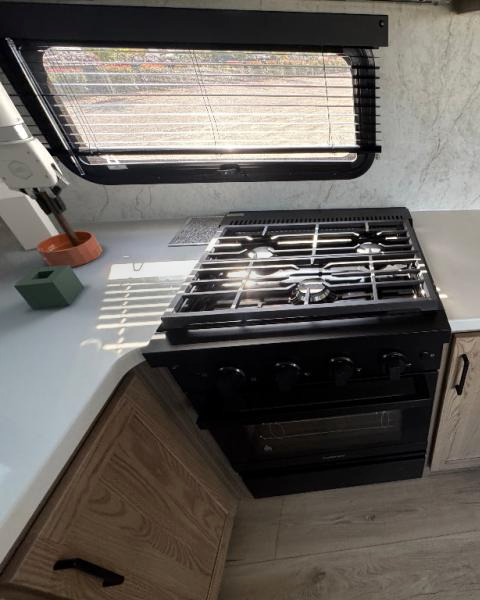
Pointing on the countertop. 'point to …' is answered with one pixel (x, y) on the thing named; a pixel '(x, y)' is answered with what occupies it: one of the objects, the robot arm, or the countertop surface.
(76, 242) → the stick
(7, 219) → the milk carton
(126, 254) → the countertop surface
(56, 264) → the bowl
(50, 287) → the holder
